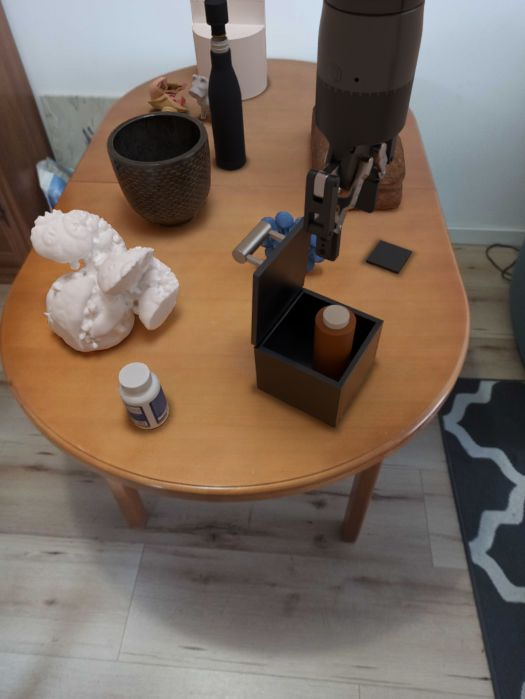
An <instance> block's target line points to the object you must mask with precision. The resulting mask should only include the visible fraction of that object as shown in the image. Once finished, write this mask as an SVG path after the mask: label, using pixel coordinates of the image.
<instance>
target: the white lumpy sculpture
mask: <svg viewBox="0 0 525 699" xmlns="http://www.w3.org/2000/svg"><path fill="white" fill-rule="evenodd" d="M33 223H34V226H33V227H32V228H31V230H30V233H31V234H30V238H29V239H30V242H31V246H32V248H33V249H34V251H35V252H36V253H37V255H39V256H40V257H42V258H44V259H47V260H50V261H53V262H55V263H59V264H68V266H69V268H70V269H71V270H76V271H69V272H66V273H64V274H61V275H60V276H59V277H58V278H56V280H55V281H54V282H53V283H52V284H51V287H50V288H49V290H48V292H47V294H46V297H45V307H46V308H45V309H46V312H43V314H44V316H45V317H46V318H47V319H46V320H47V324H48V326H49V327H50V328H51V331H52V332H54V333H55V334H56V335H57V336H59V337H60V338H62V340H63V341H64V342H65V344H67V345H68V346H69V347H71V348H72V349H74V350H75V351H78V352H79V351H80V352H83V353H84V352H85V353H88V352H89V353H90V352H93V351H101V350H108V349H111V348H112V347H115V346H118V345H119V344H120V343H121V342H122V341H123V340H124V339H125V338H127V337H128V336H129V335H130V333H131V331H132V330H133V328H134V325H135V322H136V321H135V317H136V316H135V315H138V318H139V320H140V321H141V323H142V324H143V326H144V327H145V328H146V329H147V330H148V331H154V330H156V329H158V328H159V327H160V326H161V325H162V324H164V322H165V321H166V319H167V318H168V317H169V315H170V314H171V313H172V312H173V309H174V308H175V307H176V306H177V298H178V296H179V291H180V283H179V280H178V279H177V276H176V275H175V273H174V272H173V271H172V268H171V267H169V266H168V265H166V264H165V263H164V262H162V261H161V260H160V259H158V258H157V257H155V256H154V251H155V248H152V247H147V246H145V247H142V246H140V245H137V246H135V247H129V249H128V248H127V245H126V242H125V241H124V239H123V238H122V236H121V235H120V234H119V233H118V232H117V230H115V229H114V228H113V227H112V225H111V224H110V223H108V221H107V220H104V218H103V217H100V216H99V215H98V214H94V213H90V212H89V211H87V210H81V209H72V210H70V211H69V212H64V213H63V211H61V209H55V208H54V209H52V212H49V211H44V215H43V216H42V215H38V216H37V218H36V219H35V220H34V222H33ZM79 260H82V261H83V262H82V265H83V267H81V264H80V262H79ZM80 267H81V268H80Z"/></svg>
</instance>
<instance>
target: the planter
mask: <svg viewBox="0 0 525 699" xmlns="http://www.w3.org/2000/svg"><path fill="white" fill-rule="evenodd" d="M106 150H107V154H108V157H109V160H110V163H111V167H112V170H113V172H114V175H115V178H116V180H117V183H118V185H119V188H120V190H121V193H122V195H123V196H124V198H125V200H126V202H127V203H128V205H129V206H130V207H131V209H132V210H133V211H134V212H135V213H136V214H137V215H138V216H140V217H141V218H143V219H145V220H147V221H149V222H151V223H153V224H154V225H156V226H159V227H162V228H167V229H173V228H179V227H182V226H184V225H187V224H189V223H190V222H191V221H192V220H193V219H194V218H195V217H196V215H197V214H198V213H199V212H200V211H201V210H202V209H203V208H204V206H205V204H206V203H207V200H208V198H209V194H210V191H211V184H212V165H211V164H212V163H211V162H212V161H211V149H210V142H209V134H208V131H207V127H206V126H205V124H204V123H203V122H202V121H201V120H199V119H198V118H197V117H195V116H192V115H190V114H187V113H185V112H181V113H179V112H171V111H162V112H161V111H153V112H147V113H143V114H139V115H136V116H133V117H130V118H128V119H127V120H125V121H122V122H121V123H120V124H118V125H117V126H116V127H115V128H114V129H112V131H111V132H110V133H109V135H108V137H107V141H106Z"/></svg>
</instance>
